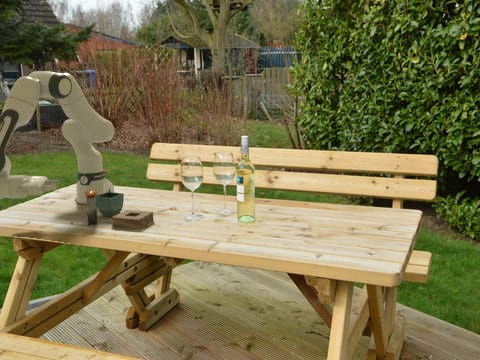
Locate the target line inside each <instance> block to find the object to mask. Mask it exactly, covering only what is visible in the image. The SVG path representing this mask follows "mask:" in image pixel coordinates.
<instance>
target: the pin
mask: <svg viewBox="0 0 480 360" xmlns="http://www.w3.org/2000/svg"><path fill="white" fill-rule="evenodd" d="M84 193H85V196H86V200H87V204H86V210H87V211H86V213H87V214H86V215H87V225H88V226H96V225H98V212H97V211H98V210H97V209H98V208H97V203H96V195H97V191H86V192H84Z"/></svg>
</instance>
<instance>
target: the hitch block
mask: <svg viewBox="0 0 480 360" xmlns="http://www.w3.org/2000/svg"><path fill="white" fill-rule="evenodd" d="M153 222H154V211H147V210H132V209H125V210H124V211H121V212H120V214H118V215H115V216H113V217H111V224H112V225H111V227H112V228H117V229H118V228H119V229H129V230H130V229H131V230H139V231H140V230H141V229H143V228H145V227H146V226H148V225H150V224H152V223H153Z"/></svg>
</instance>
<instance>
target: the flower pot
mask: <svg viewBox="0 0 480 360" xmlns="http://www.w3.org/2000/svg"><path fill="white" fill-rule="evenodd" d="M124 198H125V194H124V193H123V192H122V193H121V192H116V193H113V192H107V193H104V194H100V195H97V196H96V208H97V209H98V210H97V211H99V213H100V214H101V216H103V217H109V218H112V217H114V216H116V215H118V214H120V213H122V210H123V208H124V207H123V206H124V200H125V199H124Z"/></svg>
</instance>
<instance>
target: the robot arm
mask: <svg viewBox="0 0 480 360" xmlns="http://www.w3.org/2000/svg"><path fill="white" fill-rule="evenodd" d="M40 98H41V99H55V100H57V101H58V103H59V104H60V107H61V109H62V111H63V113H64V114H65V116H66V117H67V118H68V119H66V120H65V121H64V122H63V124H62V127H61V133H62V136H63V138H64V139H66V140H67V141H68V143H70V145H71V146H72V148H73V150H74V153H75V155H76V160H77V169H78V171H77V180H78V181H77V182H76V195H75V197H74V200H75V201H76V203H78V204H85V205H87V200H86V196H85V193H84V192H86V191H97V195H100V194H104V193H107V192H113V193H117V192H115V188H114V184H113V183H112V182H111V181H110V180H109V179H107V178H106V175H108V173H109V172H108V170H107V169H106V170H105V169H103V156H102V154H101V153H100V151H98V150H97V149H96V148H95V147H94V146H93V143H98V144H99V143H105V142H109V141H111V140H112V139H113V137H114V134H115V127H114V125H113V123H112V121H110V120H108V119H106V118H105V117H103V116H102V115H100V114H99V113H98V112H97V111H96V110H94V108H93V107H92V106H91V105H90V103H89V101H88V99H87V97H86V96H85V94H84V92H83V90H82V88H81V86H80V84H79V83H78V81H77V80H76V78H75V77H74V76H73V75H72V74H70V73H68V72H55V71H51V70H50V71H49V70H45V71H44V70H29V71H28V72H26V73H24V74H23V76H20V77H19V78H17V80H16V81H15V82H14V84H13V85H12V87H11V89H10V91H9V92H8V95H7V97H6V100H5V102H4V106H3V108H2V112H1V114H0V200H2V199H5V198H6V199H26V196H41V195H43V194H44V192H49V191H56V190H57V186H60V180H58V179H56V180H55V179H48V177H47V176H42V175H41V176H39V175H38V176H37V175H28V174H20V175H19V174H18V175H17V174H15V175H11V172H12V163H11V160H10V158H9V157H8V156H7V155H6V149H7V147H8V145H9V142H10V140H11V138H12V136H13V134H14V132H15V130H16V129H18V128H19V127H21V126H22V127H23V126H25V125H27V124H28V123H29V122H30V120H31V119H32V117H33V116H34V114H35V110H36V108H37V107H38V103H39V99H40ZM97 195H96V196H97Z"/></svg>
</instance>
